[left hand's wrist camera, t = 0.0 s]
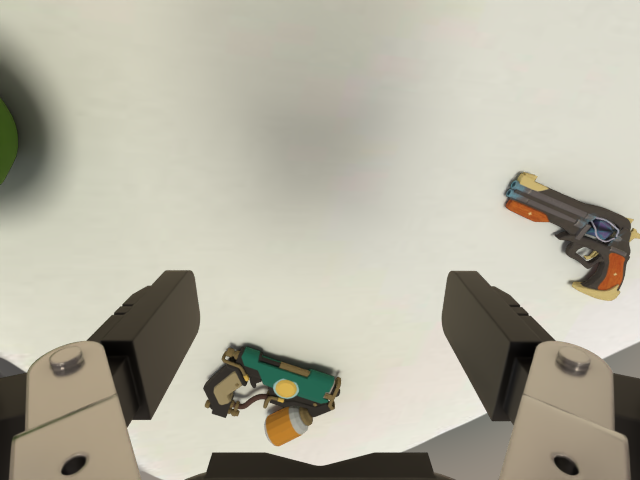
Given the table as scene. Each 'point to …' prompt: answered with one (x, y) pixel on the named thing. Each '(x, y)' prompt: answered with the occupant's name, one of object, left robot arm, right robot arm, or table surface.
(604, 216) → the toy gun
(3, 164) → the vase
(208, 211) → the table surface
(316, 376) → the spray gun
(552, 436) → the left robot arm
